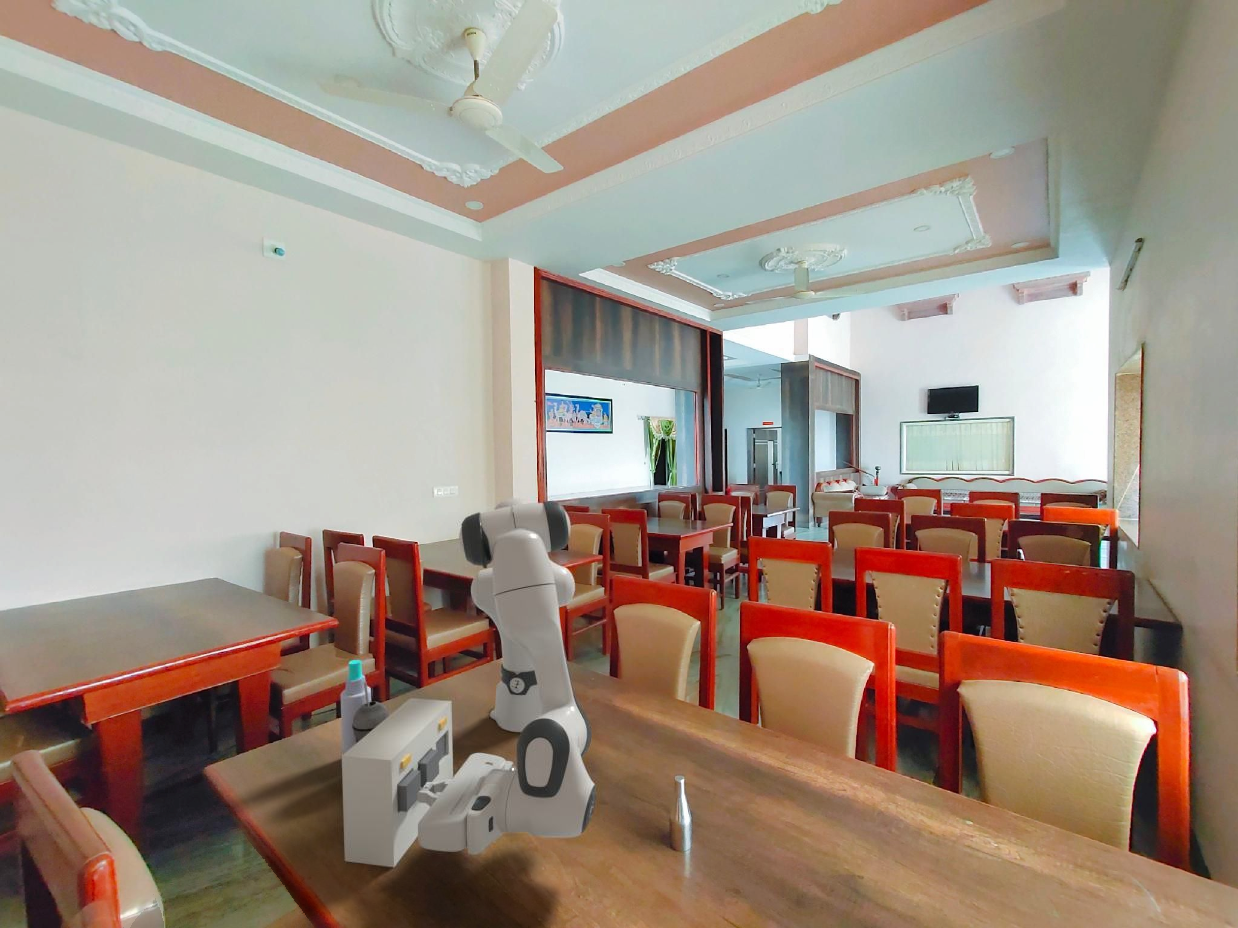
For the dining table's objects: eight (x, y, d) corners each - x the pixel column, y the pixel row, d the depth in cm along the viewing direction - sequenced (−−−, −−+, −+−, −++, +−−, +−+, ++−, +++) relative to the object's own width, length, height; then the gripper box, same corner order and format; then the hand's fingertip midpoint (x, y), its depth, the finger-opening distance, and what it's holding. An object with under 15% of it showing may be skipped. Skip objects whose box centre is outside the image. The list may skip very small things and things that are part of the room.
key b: (428, 751, 110) (427, 729, 110) (445, 752, 109) (445, 731, 109) (416, 764, 105) (416, 741, 105) (434, 765, 105) (434, 743, 105)
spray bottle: (336, 763, 120) (333, 665, 119) (358, 749, 126) (356, 655, 125) (356, 769, 118) (353, 668, 117) (378, 754, 124) (376, 658, 123)
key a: (401, 793, 97) (400, 768, 96) (420, 795, 96) (420, 770, 96) (386, 809, 92) (386, 783, 92) (407, 811, 92) (406, 785, 91)
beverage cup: (377, 788, 111) (374, 691, 111) (345, 784, 113) (342, 688, 112) (398, 767, 119) (396, 676, 118) (368, 763, 120) (366, 673, 119)
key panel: (412, 784, 113) (410, 698, 112) (455, 788, 111) (453, 701, 110) (344, 860, 92) (341, 755, 91) (396, 867, 90) (393, 760, 90)
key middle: (420, 771, 103) (420, 748, 103) (439, 773, 102) (438, 750, 102) (408, 785, 99) (407, 761, 99) (427, 787, 98) (426, 763, 98)
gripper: (519, 746, 101) (449, 740, 104) (471, 822, 81) (386, 812, 84) (520, 780, 102) (450, 773, 104) (472, 863, 81) (387, 853, 84)
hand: (421, 791), depth 94 cm, fingers closed
